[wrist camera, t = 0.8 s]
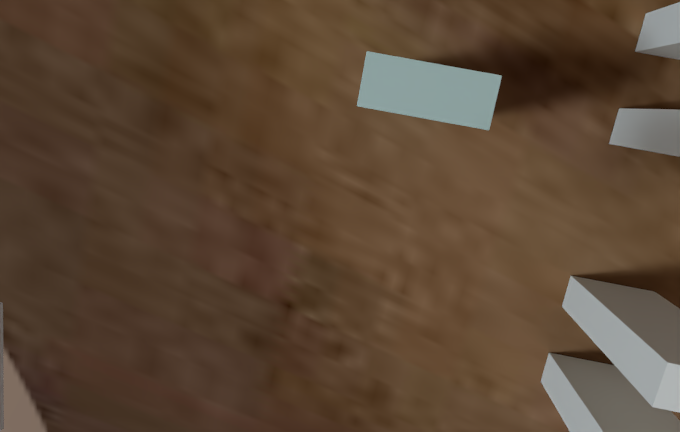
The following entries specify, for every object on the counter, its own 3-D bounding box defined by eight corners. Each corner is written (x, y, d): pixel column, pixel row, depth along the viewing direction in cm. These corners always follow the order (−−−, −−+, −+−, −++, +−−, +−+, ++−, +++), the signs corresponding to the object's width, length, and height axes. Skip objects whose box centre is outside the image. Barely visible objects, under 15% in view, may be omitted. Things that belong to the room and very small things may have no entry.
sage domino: (371, 69, 30) (367, 51, 20) (458, 85, 30) (502, 75, 19) (364, 105, 31) (356, 105, 20) (450, 120, 31) (489, 130, 20)
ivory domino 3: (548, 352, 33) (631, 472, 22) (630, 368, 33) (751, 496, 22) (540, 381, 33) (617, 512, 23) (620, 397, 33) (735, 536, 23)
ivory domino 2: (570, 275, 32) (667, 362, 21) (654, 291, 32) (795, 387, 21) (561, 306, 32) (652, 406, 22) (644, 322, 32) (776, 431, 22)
